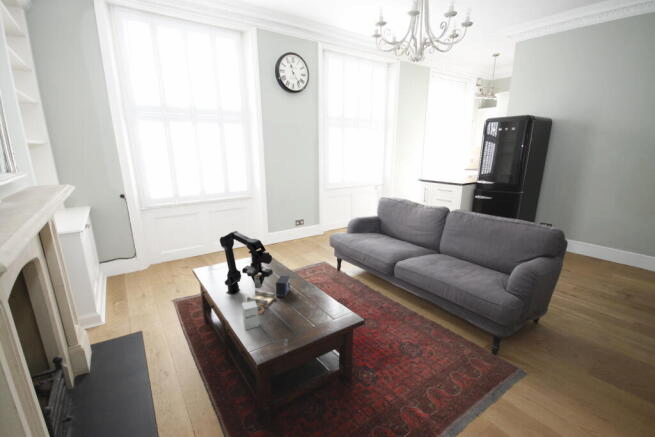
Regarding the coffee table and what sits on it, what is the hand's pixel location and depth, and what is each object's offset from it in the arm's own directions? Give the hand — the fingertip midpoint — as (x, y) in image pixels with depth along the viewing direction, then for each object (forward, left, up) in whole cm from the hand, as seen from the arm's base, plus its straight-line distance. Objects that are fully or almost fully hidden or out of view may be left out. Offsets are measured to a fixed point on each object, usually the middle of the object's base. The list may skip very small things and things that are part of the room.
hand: (258, 283), depth 187 cm
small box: (+10, +14, -13) cm, 21 cm away
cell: (0, 0, -2) cm, 2 cm away
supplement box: (+9, -23, -13) cm, 28 cm away
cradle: (+1, +1, -12) cm, 12 cm away
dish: (+5, -11, -12) cm, 17 cm away
